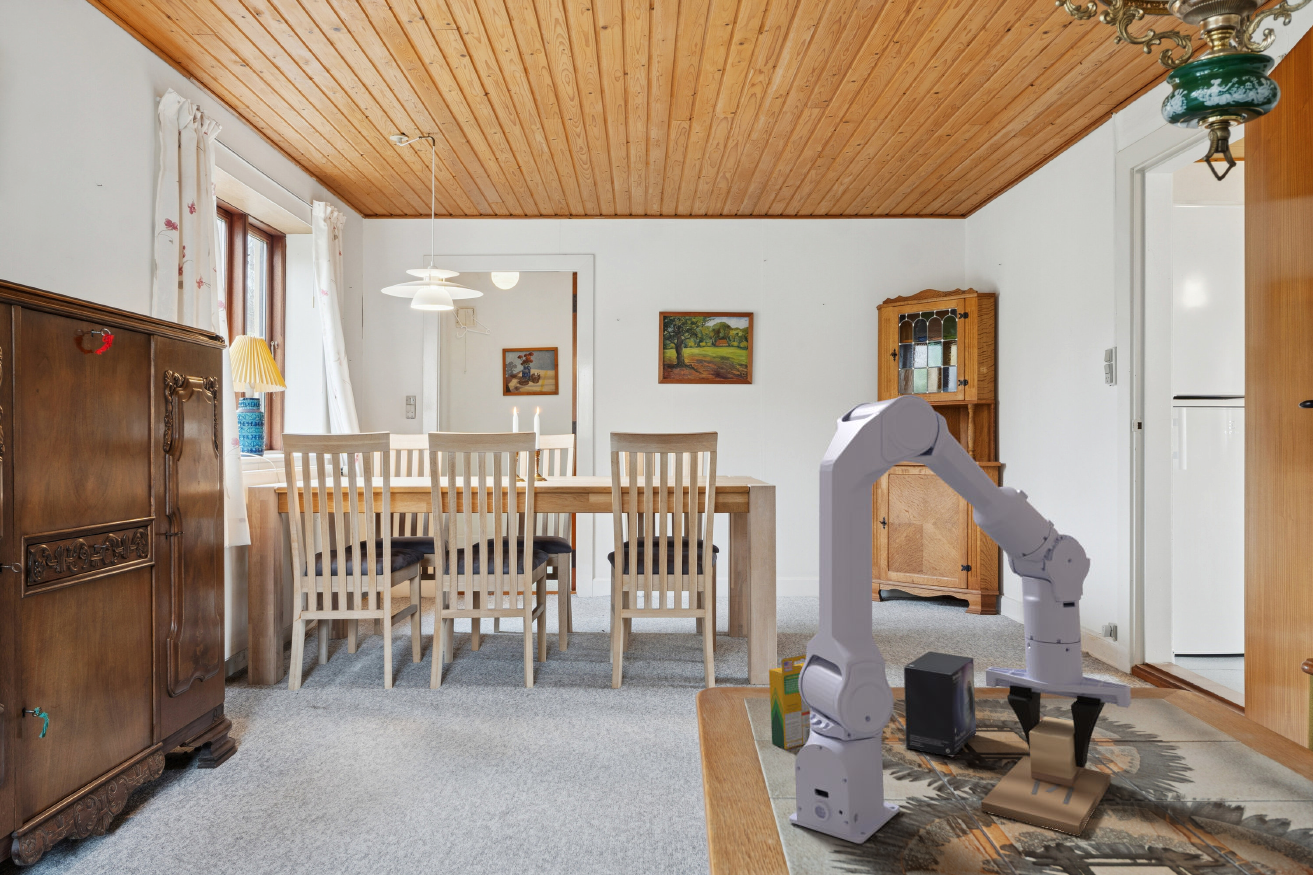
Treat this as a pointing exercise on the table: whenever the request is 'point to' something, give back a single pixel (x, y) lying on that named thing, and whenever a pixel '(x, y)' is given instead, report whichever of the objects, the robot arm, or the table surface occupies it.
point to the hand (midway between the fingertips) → (1058, 759)
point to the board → (1047, 798)
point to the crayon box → (788, 705)
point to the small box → (939, 703)
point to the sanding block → (1054, 752)
